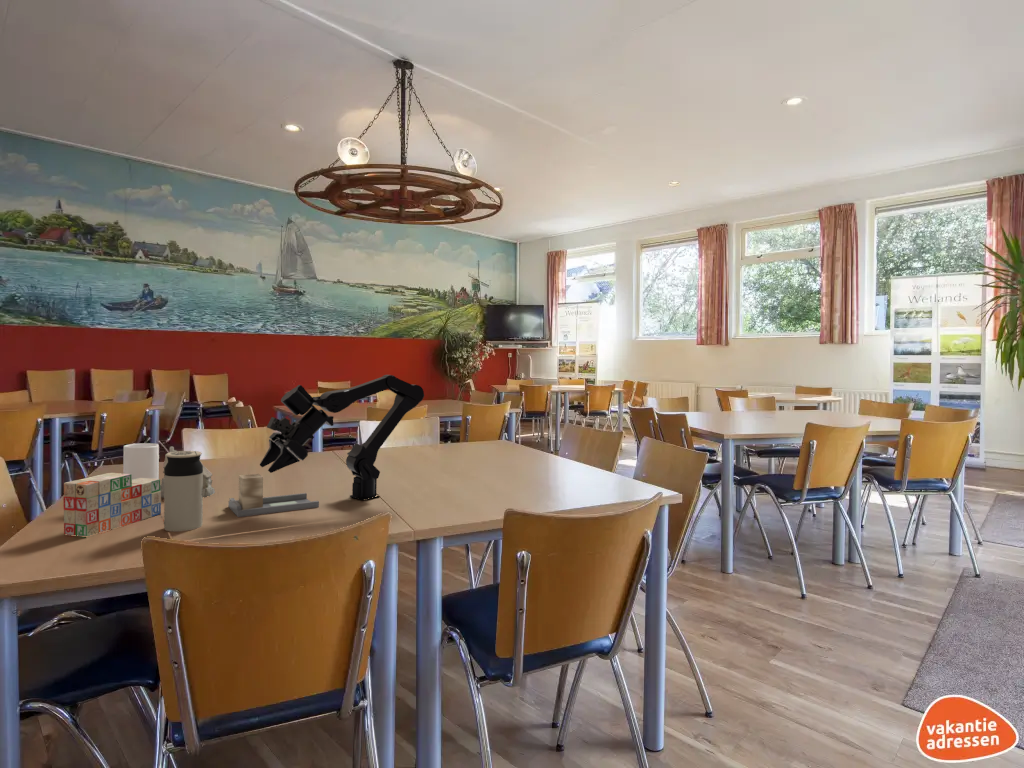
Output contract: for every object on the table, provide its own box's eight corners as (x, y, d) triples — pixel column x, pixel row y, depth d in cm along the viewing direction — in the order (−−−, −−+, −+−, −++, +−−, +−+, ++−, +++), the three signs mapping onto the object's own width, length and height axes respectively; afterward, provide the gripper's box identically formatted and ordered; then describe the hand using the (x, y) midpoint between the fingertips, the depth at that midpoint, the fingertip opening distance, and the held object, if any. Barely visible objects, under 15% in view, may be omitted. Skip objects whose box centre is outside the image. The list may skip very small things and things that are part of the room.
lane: (305, 499, 171) (305, 489, 171) (318, 508, 161) (319, 497, 161) (228, 508, 159) (228, 497, 159) (237, 518, 149) (238, 507, 149)
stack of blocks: (140, 512, 153) (140, 465, 152) (161, 514, 152) (161, 467, 151) (63, 536, 132) (63, 481, 131) (86, 538, 131) (86, 483, 130)
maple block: (258, 506, 160) (258, 473, 160) (262, 510, 156) (263, 476, 156) (238, 508, 157) (238, 475, 157) (242, 512, 153) (242, 478, 153)
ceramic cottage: (202, 499, 168) (202, 446, 168) (146, 499, 168) (146, 447, 169) (229, 490, 183) (229, 442, 184) (177, 491, 184) (178, 443, 184)
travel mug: (161, 534, 135) (162, 456, 134) (166, 525, 142) (167, 451, 141) (200, 531, 138) (201, 455, 137) (203, 522, 145) (204, 450, 145)
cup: (133, 499, 166) (134, 442, 166) (164, 499, 167) (164, 443, 166) (116, 506, 158) (116, 447, 157) (148, 506, 159) (149, 447, 158)
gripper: (277, 404, 168) (235, 444, 162) (296, 409, 153) (250, 454, 147) (304, 430, 173) (264, 470, 167) (325, 438, 158) (282, 482, 152)
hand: (264, 468), depth 158 cm, fingers open, 9 cm apart
